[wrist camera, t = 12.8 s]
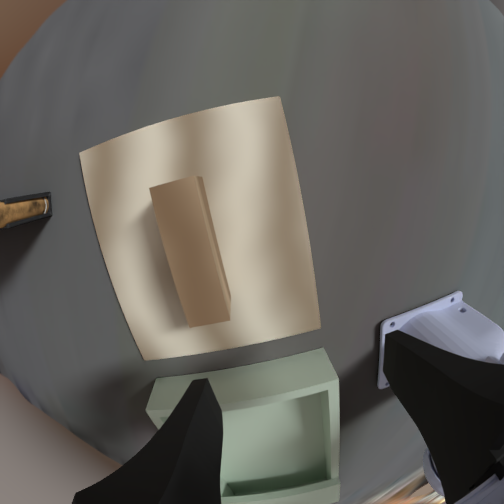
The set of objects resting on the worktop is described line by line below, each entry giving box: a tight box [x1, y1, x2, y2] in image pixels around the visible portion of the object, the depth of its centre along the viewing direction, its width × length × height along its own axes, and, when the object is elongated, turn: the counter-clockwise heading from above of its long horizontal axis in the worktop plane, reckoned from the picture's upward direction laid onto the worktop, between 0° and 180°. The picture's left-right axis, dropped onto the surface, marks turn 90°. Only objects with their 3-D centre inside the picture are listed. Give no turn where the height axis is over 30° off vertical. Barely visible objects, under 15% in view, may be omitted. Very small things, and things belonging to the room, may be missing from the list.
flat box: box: [145, 348, 341, 504], centre depth 21 cm, size 14×24×5 cm, turn 12°
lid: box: [79, 96, 321, 361], centre depth 16 cm, size 14×16×4 cm
